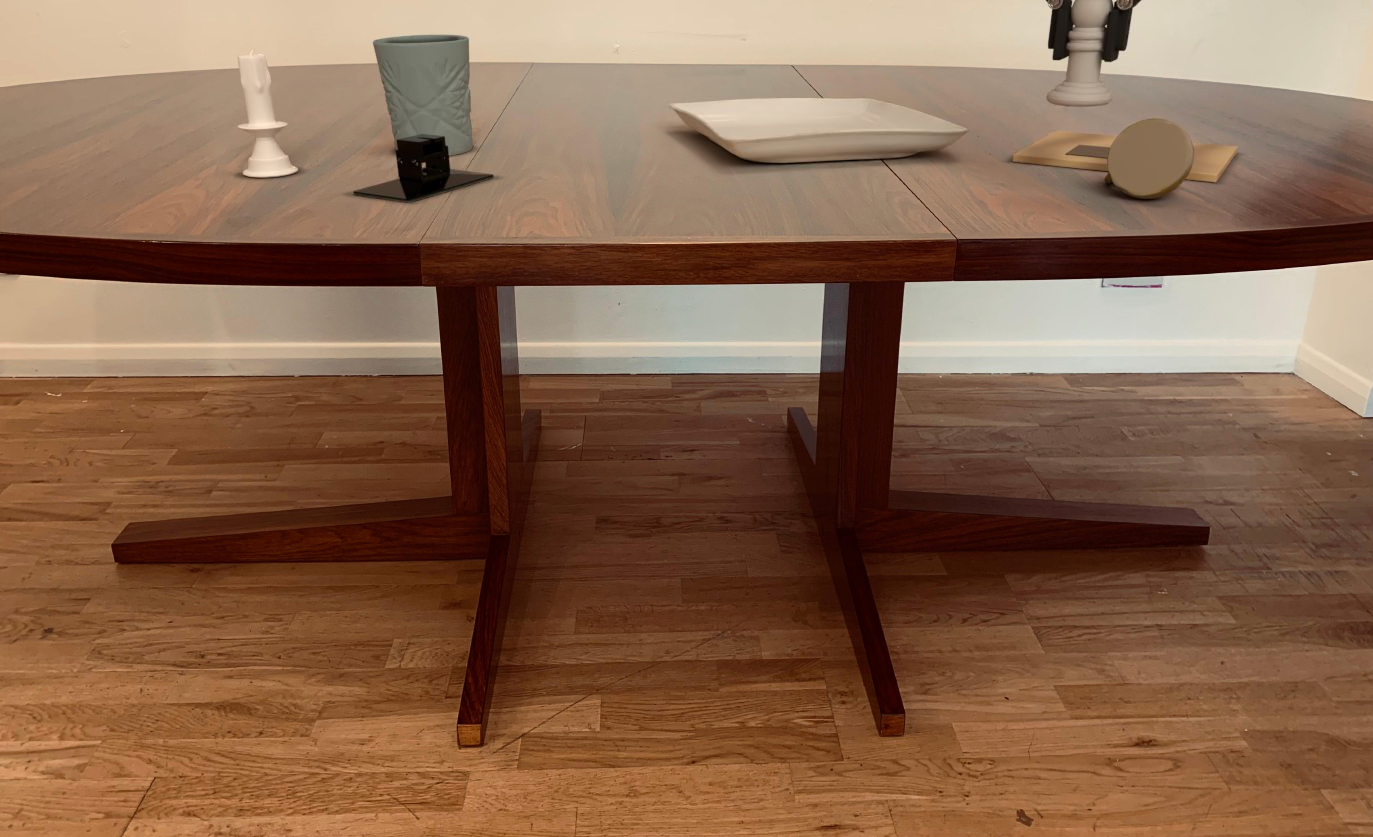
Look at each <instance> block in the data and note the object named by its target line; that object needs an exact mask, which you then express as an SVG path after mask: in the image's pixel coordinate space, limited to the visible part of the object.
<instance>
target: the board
mask: <svg viewBox="0 0 1373 837" xmlns="http://www.w3.org/2000/svg"><path fill="white" fill-rule="evenodd" d="M1117 136H1118V135H1110V134H1099V133H1086V132H1075V131H1064V130H1054V131H1052V132H1050V133H1049V134H1047V135H1045V136H1044V137H1042V138H1040V139H1038V140H1036V141H1034V142H1033V143H1031V144H1029V145H1027V146H1025V147H1024V148H1022V149H1020V150H1018V151H1017V152H1015V153H1014V154H1012V159H1011V160H1012V161H1011V162H1013V163H1021V164H1029V165H1042V166H1051V167H1061V168H1069V169H1078V170H1079V169H1080V170H1088V171H1097V172H1107V173H1109V170H1108V164H1107V160H1108V153H1109V150H1110V147H1111V145H1112V143H1113V141H1114V140H1115V139H1116V137H1117ZM1192 143H1193V146H1194V161H1193V165H1192V168H1191V170H1190V173H1189V175H1188V176H1187V177H1186V179H1185V180H1188V181H1195V182H1196V181H1197V182H1206V183H1217V182H1218V180H1219V179H1220V177H1221V176H1222V174H1223V173H1224V172H1225V170H1226V169H1227V168H1228V166H1229V165H1230V163H1231V161H1233V159H1234V158H1235V156H1236V154H1237V152H1238V149H1239V146H1237V145H1226V144H1216V143H1203V142H1193V141H1192Z"/></svg>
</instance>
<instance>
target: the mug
mask: <svg viewBox="0 0 1373 837" xmlns="http://www.w3.org/2000/svg"><path fill="white" fill-rule="evenodd" d="M1116 136H1117V137H1116V139H1115V140H1114V141H1113V143H1112V145H1111V147H1110V150H1109V153H1108V160H1107V164H1108V170H1109V172H1107V174H1106V175H1105V176H1104V182H1105V183H1106V184H1108V185H1111V184H1113V185H1114V186H1116V188H1118V189H1119V190H1120V191H1121V192H1122V193H1123V194H1126V195H1128V196H1130V197H1132V198H1136V199H1141V200H1149V199H1157V198H1162V197H1164V196H1166V195H1168V194H1170V193H1172V192H1173V191H1175V190H1176V189H1178V188H1179V187H1180V186H1181V185H1182V184H1183V183H1184V182H1185V180H1186V177H1187V176H1188V175H1189V173H1190V170H1191V168H1192V165H1193V161H1194V146H1193V143H1194V142H1193V141H1192V138H1191V136H1190V134H1189V133H1188V131H1187V130H1186V129H1185V128H1183V126H1181V125H1179V124H1178V123H1176V122H1174V121H1172V120H1169V119H1164V118H1156V117H1155V118H1147V119H1142V120H1139V121H1137V122H1134V123H1132V124H1130V125H1129V126H1127V127H1126V128H1124V129H1123V130H1122V131H1121V132H1120V133H1119V134H1118V135H1116ZM1192 142H1193V143H1192Z"/></svg>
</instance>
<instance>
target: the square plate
mask: <svg viewBox="0 0 1373 837" xmlns="http://www.w3.org/2000/svg"><path fill="white" fill-rule="evenodd" d="M668 108H669V109H671V110H673V111H674V112H675V114H677V116H678V117H679V118H680V119H681V121H682V122H683V123H684V124H686V125H687V126H689V127H690V128H691V129H693V130H694V131H696V132H698V133H700V134H701V135H703V136H705V137H707V138H708V139H709V140H710V141H711V142H713V143H715V145H718V146H720V147H721V148H723V149H724V150H726V151H727V152H728V153H730V154H733V155H735V156H736V157H738V158H740V159H741V160H742V159H743V160H747V161H751V162H756V163H757V162H758V163H769V164H770V163H773V164H775V163H776V164H787V163H789V164H790V163H809V162H825V161H826V162H827V161H850V160H851V161H853V160H875V159H897V158H904V157H905V158H906V157H911V156H914V155H916V154H917V153H920V152H921V153H922V152H929V151H932V152H933V151H937V150H942V149H945V148H947V147H950V146H952V145H953V144H954V143H956V142H958V141H959V140H961V138H962V137H963V136H965V135H966V134H967V133H969V130H970V129H969V128H968V127H964V126H961V125H959V124H955V123H953V122H950V121H948V120H945V119H943V118H940V117H937V116H935V115H931V114H929V113H926V112H923V111H920V110H917V109H913V108H910V107H907V106H904V105H900V104H896V103H891V102H889V101H888V102H887V101H884V100H879V99H875V98H869V97H868V98H867V97H861V98H856V97H855V98H838V97H837V98H835V97H833V98H828V97H827V98H826V97H825V98H824V97H759V98H757V97H756V98H739V99H738V98H737V99H736V98H735V99H720V100H709V101H708V100H706V101H694V102H692V101H691V102H675V103H669V105H668Z"/></svg>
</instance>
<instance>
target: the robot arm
mask: <svg viewBox="0 0 1373 837" xmlns="http://www.w3.org/2000/svg"><path fill="white" fill-rule="evenodd" d="M1045 1H1046V3H1047V6H1048V7H1049V9H1051V15H1050V23H1049V31H1048V38H1047V39H1048V40H1047V48H1048V50H1053V51H1052V58H1051V59H1052V61H1062V60H1065V59H1066V58H1069V50H1068V49H1067V48H1066V44H1067V43H1068V42H1069V38H1068V37H1067V34H1068V32H1069V31H1072V28H1073V27H1074V24H1073V22H1072V19H1071V9H1072V5H1073V0H1045ZM1141 1H1142V0H1115V1H1114V2H1113V6H1114V8H1113V10H1111V11H1110V12H1109V14H1108V20H1107V25H1106V26H1105V27H1106V34H1105V41H1104V48H1103V55H1102V61H1104V63H1113V62H1114V61H1115V62H1116V61H1117V60H1118V58H1119V55H1120V52H1125V51H1126V50H1127V47H1128V43H1129V42H1128V41H1129V35H1130V30H1131V29H1130V28H1131V23H1132V16H1133V9H1134V8H1135V7H1136V6H1137V5H1138V4H1140V2H1141Z"/></svg>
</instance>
